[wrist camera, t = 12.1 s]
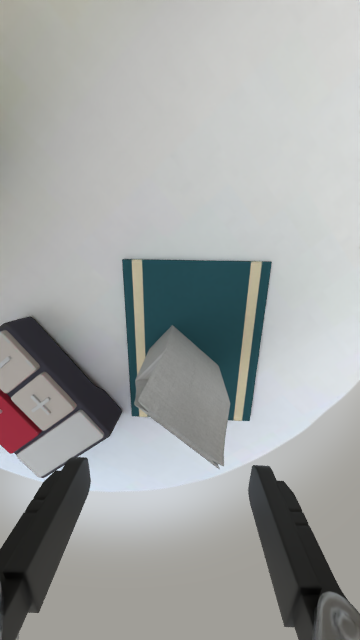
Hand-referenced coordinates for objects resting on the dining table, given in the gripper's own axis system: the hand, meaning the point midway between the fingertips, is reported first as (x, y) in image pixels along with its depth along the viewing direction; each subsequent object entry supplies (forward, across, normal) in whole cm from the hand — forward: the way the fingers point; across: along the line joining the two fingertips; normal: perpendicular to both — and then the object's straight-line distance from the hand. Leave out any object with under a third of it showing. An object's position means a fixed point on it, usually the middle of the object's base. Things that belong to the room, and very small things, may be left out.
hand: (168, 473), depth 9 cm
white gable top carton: (+12, -1, 0) cm, 12 cm away
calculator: (+13, +15, +5) cm, 21 cm away
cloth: (+12, -2, -1) cm, 12 cm away
